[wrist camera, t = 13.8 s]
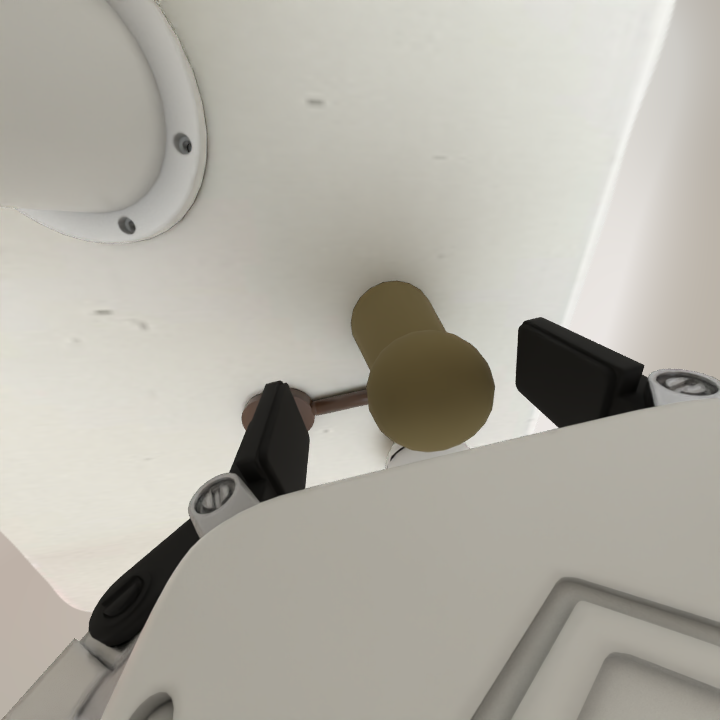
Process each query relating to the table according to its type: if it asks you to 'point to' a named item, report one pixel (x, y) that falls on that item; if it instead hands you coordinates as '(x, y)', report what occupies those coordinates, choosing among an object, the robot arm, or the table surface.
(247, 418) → the wooden spoon
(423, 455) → the white ovoid
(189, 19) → the table surface
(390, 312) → the cork
